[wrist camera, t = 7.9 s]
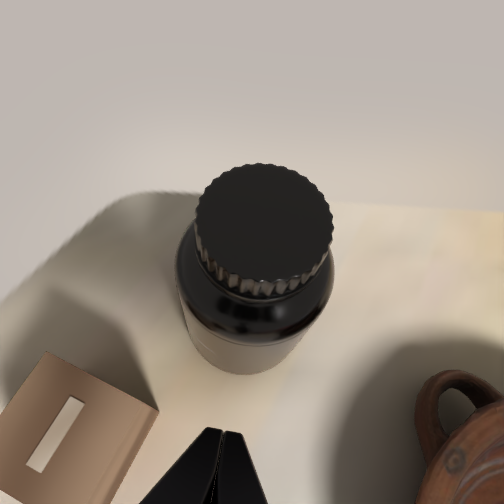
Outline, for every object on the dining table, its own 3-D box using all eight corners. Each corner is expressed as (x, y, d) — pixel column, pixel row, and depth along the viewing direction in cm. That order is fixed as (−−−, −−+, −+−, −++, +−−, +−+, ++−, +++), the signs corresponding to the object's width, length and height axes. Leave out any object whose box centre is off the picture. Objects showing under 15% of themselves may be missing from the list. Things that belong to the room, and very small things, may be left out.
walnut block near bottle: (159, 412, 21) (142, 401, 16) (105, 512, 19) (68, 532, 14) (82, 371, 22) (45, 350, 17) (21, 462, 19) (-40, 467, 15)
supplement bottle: (168, 352, 22) (119, 264, 12) (214, 255, 25) (208, 115, 15) (279, 396, 22) (335, 346, 11) (313, 291, 25) (381, 172, 14)
